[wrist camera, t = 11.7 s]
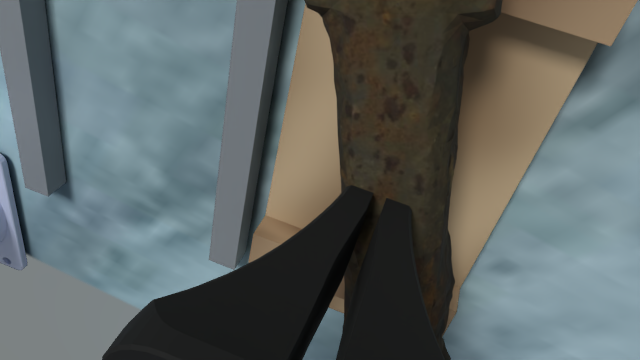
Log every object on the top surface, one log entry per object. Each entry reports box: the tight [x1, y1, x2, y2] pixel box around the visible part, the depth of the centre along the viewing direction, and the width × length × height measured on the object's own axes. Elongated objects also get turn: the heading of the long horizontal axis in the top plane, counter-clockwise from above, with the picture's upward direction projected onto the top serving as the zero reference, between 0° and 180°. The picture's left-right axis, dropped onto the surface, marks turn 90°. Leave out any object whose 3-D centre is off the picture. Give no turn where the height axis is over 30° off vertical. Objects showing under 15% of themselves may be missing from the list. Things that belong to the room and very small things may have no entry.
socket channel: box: [0, 0, 288, 270], centre depth 19 cm, size 10×18×1 cm, turn 168°
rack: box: [249, 0, 637, 336], centre depth 17 cm, size 8×18×2 cm, turn 168°
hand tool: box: [305, 0, 502, 360], centre depth 14 cm, size 19×4×5 cm
